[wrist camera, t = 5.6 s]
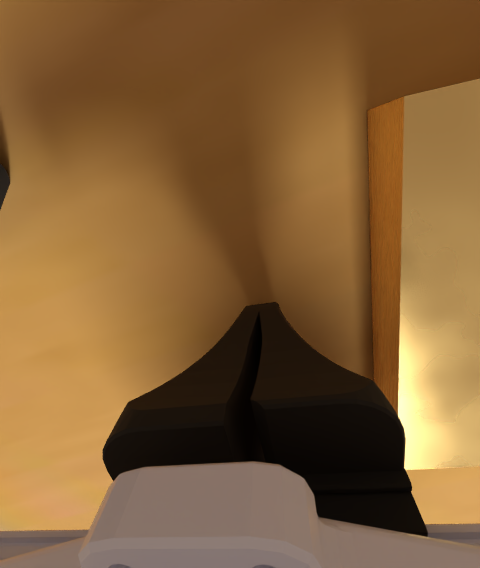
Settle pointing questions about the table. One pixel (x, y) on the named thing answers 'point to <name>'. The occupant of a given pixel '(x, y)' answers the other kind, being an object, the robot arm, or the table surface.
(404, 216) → the tan flat block
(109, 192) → the table surface
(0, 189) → the pipe connector
